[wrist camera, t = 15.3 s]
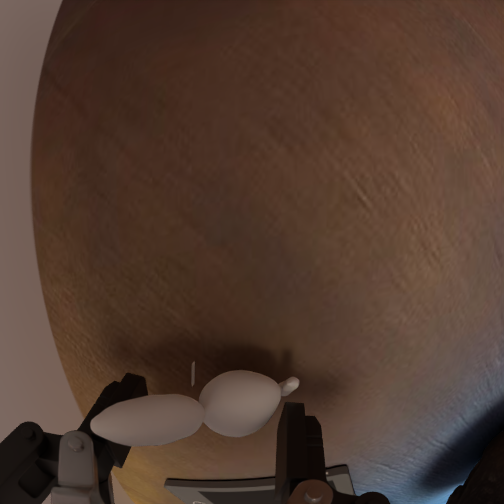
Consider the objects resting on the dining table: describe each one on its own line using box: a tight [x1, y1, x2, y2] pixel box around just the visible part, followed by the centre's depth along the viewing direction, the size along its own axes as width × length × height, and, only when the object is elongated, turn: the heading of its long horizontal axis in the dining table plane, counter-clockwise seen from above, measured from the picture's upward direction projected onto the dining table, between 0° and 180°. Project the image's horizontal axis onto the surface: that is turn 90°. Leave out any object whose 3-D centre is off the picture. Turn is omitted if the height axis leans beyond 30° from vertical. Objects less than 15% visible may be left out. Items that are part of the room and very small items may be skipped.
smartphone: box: [164, 466, 356, 504], centre depth 17 cm, size 15×8×1 cm, turn 110°
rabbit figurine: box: [90, 361, 299, 446], centre depth 10 cm, size 6×4×8 cm
